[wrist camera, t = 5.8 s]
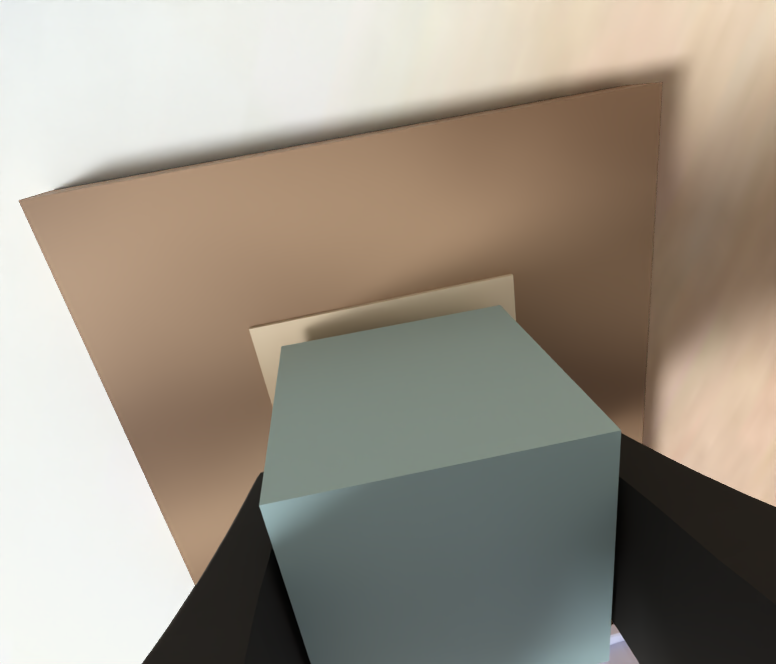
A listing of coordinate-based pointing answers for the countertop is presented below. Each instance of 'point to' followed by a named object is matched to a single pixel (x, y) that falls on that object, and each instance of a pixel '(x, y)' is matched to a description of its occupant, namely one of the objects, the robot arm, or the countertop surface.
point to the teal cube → (442, 497)
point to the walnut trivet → (353, 272)
